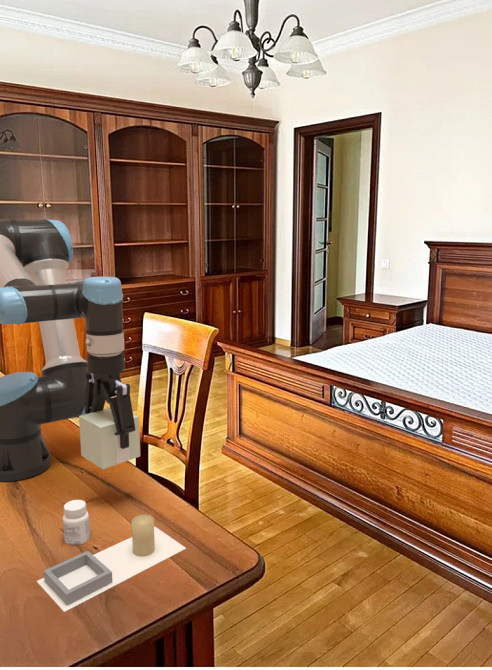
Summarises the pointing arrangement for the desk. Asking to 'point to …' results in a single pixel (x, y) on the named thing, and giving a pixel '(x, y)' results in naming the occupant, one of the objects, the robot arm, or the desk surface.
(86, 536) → the pill bottle
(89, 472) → the desk surface
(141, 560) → the board
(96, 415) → the housing
